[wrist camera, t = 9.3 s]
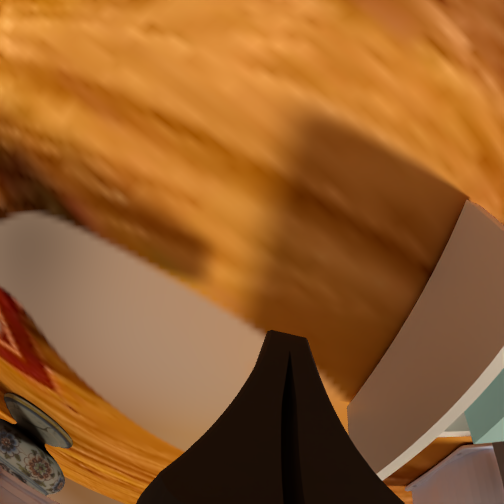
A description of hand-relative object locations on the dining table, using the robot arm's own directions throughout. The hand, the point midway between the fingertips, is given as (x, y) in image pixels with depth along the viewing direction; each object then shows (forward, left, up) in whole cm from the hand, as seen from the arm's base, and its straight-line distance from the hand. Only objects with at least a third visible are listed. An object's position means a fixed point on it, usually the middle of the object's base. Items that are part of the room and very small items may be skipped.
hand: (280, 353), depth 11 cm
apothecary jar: (-27, +21, -4) cm, 34 cm away
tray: (0, -14, -3) cm, 14 cm away
